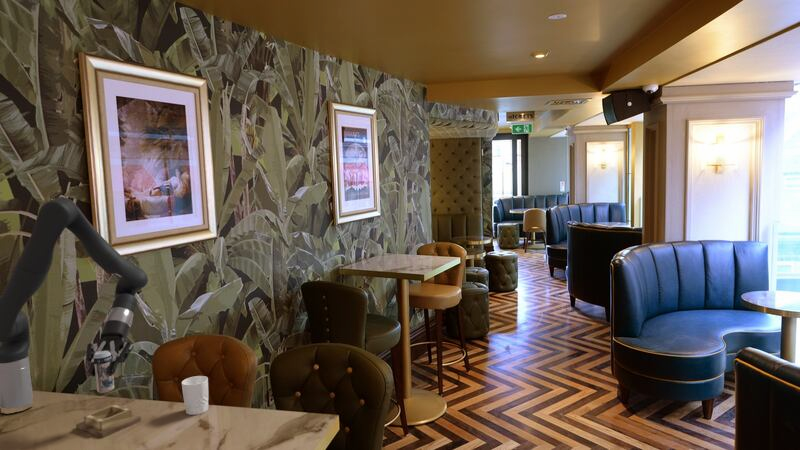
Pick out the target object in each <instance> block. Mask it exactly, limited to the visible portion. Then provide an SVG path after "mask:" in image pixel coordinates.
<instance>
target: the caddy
mask: <svg viewBox="0 0 800 450" xmlns="http://www.w3.org/2000/svg"><path fill="white" fill-rule="evenodd" d="M132 410H133V409H130V408H128V407H123V406H121V405H117V404H111V405H109V406H108V405H107V406H105V407H103V408H101V409H99V410H95V411H94V412H91V413H88V414H86V415H83V420H82V421H81V422H78V423H76V425H75V426H76V429H78V428H79V429H78V430H81V429H82V430H81V431H83V430H84V431H83V432H86V431H87V432H86V433H89V434H92V435H93V436H97V437H100V438H106V437H108V436H110V435H112V434H114V433H117V432H120V431H121V430H125V429H126V428H128V427H131V426H133V425H134V424H137V423H140V422H141V421H142V419H141V418H142V417H141V416H138V415H134V414H133V411H132Z"/></svg>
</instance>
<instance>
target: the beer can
mask: <svg viewBox="0 0 800 450" xmlns="http://www.w3.org/2000/svg"><path fill="white" fill-rule="evenodd" d="M93 358H94V366H95V376H94V377H95V384H96V392H97V393H100V394H105V393H109V392H112V391H114V389H115V379H114V378H115V377H114V374H113V375H112V376H109V375H108V374H107V371H108V368H109V365H110V362H112V356H111V353H110V352H109V351H108V350H104V351H99V352H96V351H95V354H94V357H93Z"/></svg>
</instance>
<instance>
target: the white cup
mask: <svg viewBox="0 0 800 450" xmlns="http://www.w3.org/2000/svg"><path fill="white" fill-rule="evenodd" d="M181 387H182V395H183V402H184V403H183V404H184V407H185V412H186V415H190V416H191V415H192V416H196V415H201V414H204V413H205V412H207V411H208V410H209V378H208V376H204V375H196V376H191V377H187V378H185V379H184V380H182V381H181Z"/></svg>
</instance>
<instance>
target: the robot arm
mask: <svg viewBox="0 0 800 450" xmlns="http://www.w3.org/2000/svg"><path fill="white" fill-rule="evenodd" d="M65 229H67V230H68V231H69V232H71V233H72V234H73V235H74V236H75V237H76V238H77V239H78V241H79V242H80V244H81V245H82V246H83V248H84V250H85V251H86V253H87V254H88V256H89V257H90V258H91V260H92V261H93V262H95V264H97V265H98V266H99V267H100V268H101V269H102V270H103V271H104V272H105V273H107V274H108V275H115V274H116V275H118V276H120V278H119V279H118V280H117V283H116V285H115V289H114V300H113V302H112V305H111V307H110V311H109V312H108V315H107V317H106V319H105V321H104V324H103V326H102V330H101V333H100V339H98V341H97V342H96V343H93V344H92V343H91V342H89V343H87V344H86V345H87V347H86V355H85V357H86V359H85V360H86V362H88V363H89V364H90V365H89V368H88V369H89V370H88V375H89V376H91V378H92V377H96V376H95V366H94V358H93V357H94V354H95V353H96V352H99V351H104V350H108V351H109V352H110V353H111V359H112V362H110V365H109V368H108V371H107V374H108V375H109V376H112V375H113V376H114V374H115V373H116V370H117V368H118V365H119V364H120V363H125V362H126V361H127V359H128V358H129V356H130V354H131V352H132V351H133V349H134V344H132V342H130V341H127V340H128V336H129V332H130V330H131V327H132V325H133V319H134V315H135V311H136V309H137V305H138V299H137V298H136V294H137V292H138V291H141V290H142V289H143V288H144V287H146V286H147V284H148V282H149V278H148V275H147V273H146V272H145V270H144V269H142V267H139V266H138V265H136V264H135V263H134V262H132V261H130V260H128V259H126V258H124V257H123V256H122V254H120V253H119V252H118V251H117V250H116V249H115V248H114V247H113V246H112V245H111V244H110V243H109V242H108V241H107V240H106V239H105V238H104V237H103V236H102V235H101V234H100V232H98V230H97V229H96V228H95V227H94V226H93V225H92V224H91V222H90V221H89V220H88V219H87V217H86V216H85V214H83V212H82V211H81V209H80V208H79V206H78V205H77V204H76V203H75V202H74V201H73V200H72V199H71V198H68V197H63V196H62V197H55V198H53V199H50V200H49V201H47V202H46V201H45V203H43V205H42V206H41V207H40V209H39V211H38V213H37V217H36V220H35V223H34V226H33V229H32V231H31V235H30V237H29V239H28V240H27V242H26V244H25V246H24V248H23V249H22V251H21V254H20V256H19V257H18V259H17V261H16V264H15V265H14V267H13V270H12V271H11V272H12V273H11V275H10V277H9V279H8V282H7V283H6V285H5V287H4V289H3V292H1V295H0V407H2V408H6V409H11V408H20V407H24V406H27V405H30V404H31V403H32V402H33V403H34V397H33V396H34V395H33V387H32V386H33V385H32V379H31V369H30V361H29V360H30V359H29V349H30V347H31V340H30V339H31V338H30V325H29V318H28V317H27V315H26V313H25V312H24V311H22V309H23V307H24V306H25V304H27V302H28V301H29V300H30V299H31V298H32V297H33V296H34V295H35V294H36V293H37V291H38V290H39V289H40V288H41V287H42V285H43V284H44V282H45V280H46V279H47V276H48V274H49V272H50V270H51V267H52V264H53V259H54V251H55V247H56V245H57V242H58V240H59V239H60V236H61V235H62V233H63V232H64V230H65Z"/></svg>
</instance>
